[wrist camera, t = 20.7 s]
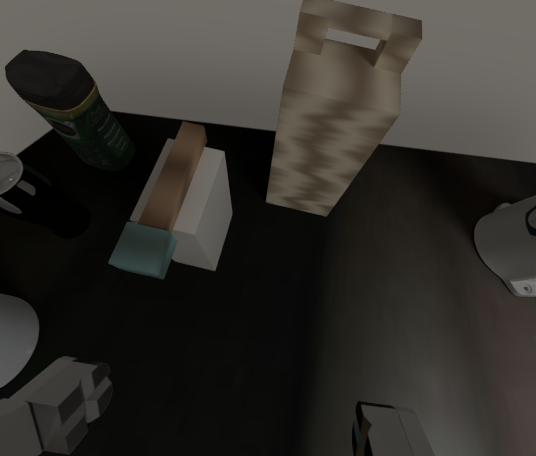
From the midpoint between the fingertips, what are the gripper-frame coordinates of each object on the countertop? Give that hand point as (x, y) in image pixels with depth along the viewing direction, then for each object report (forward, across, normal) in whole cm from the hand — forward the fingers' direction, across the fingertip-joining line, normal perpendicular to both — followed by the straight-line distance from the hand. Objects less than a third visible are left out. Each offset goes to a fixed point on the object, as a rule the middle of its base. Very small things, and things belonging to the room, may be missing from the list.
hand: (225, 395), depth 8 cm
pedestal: (+35, +14, +7) cm, 38 cm away
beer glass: (+32, +37, +5) cm, 49 cm away
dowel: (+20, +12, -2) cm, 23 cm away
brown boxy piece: (+45, -2, -1) cm, 45 cm away
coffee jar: (+41, +36, -6) cm, 55 cm away
